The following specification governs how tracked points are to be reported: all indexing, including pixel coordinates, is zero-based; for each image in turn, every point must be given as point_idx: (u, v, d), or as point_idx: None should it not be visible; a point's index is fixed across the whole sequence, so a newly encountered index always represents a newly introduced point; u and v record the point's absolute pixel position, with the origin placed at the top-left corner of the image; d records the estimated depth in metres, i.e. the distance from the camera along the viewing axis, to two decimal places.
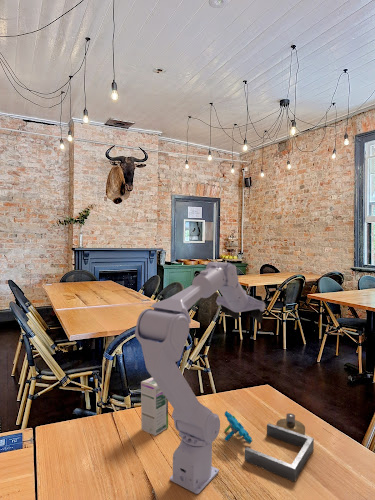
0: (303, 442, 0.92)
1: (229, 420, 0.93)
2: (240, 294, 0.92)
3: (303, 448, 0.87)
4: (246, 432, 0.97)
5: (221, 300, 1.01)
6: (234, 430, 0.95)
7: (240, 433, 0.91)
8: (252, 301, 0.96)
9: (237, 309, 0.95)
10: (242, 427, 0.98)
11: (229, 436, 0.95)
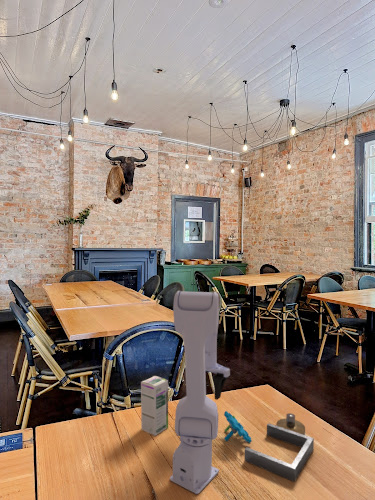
0: (303, 442, 0.92)
1: (228, 420, 0.93)
2: (216, 348, 1.01)
3: (303, 448, 0.87)
4: (246, 432, 0.97)
5: None
6: (234, 430, 0.95)
7: (239, 433, 0.91)
8: None
9: (204, 366, 0.99)
10: (242, 427, 0.98)
11: (229, 436, 0.95)
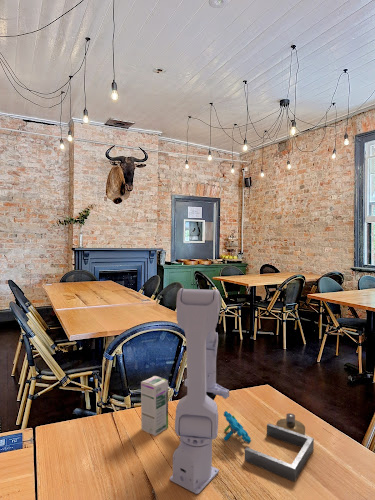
0: (303, 442, 0.92)
1: (228, 420, 0.93)
2: (215, 368, 1.01)
3: (303, 448, 0.87)
4: (245, 432, 0.97)
5: None
6: (233, 430, 0.95)
7: (238, 433, 0.91)
8: None
9: None
10: (241, 427, 0.98)
11: (228, 436, 0.95)
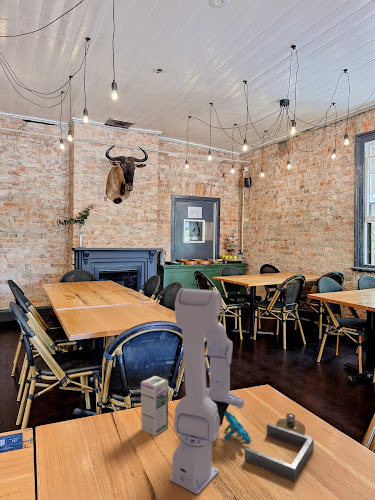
0: (303, 442, 0.92)
1: (228, 419, 0.93)
2: (228, 378, 0.98)
3: (303, 448, 0.87)
4: (246, 432, 0.97)
5: None
6: (233, 430, 0.95)
7: (238, 433, 0.91)
8: (232, 397, 0.98)
9: (217, 396, 0.97)
10: (242, 427, 0.98)
11: (228, 435, 0.95)
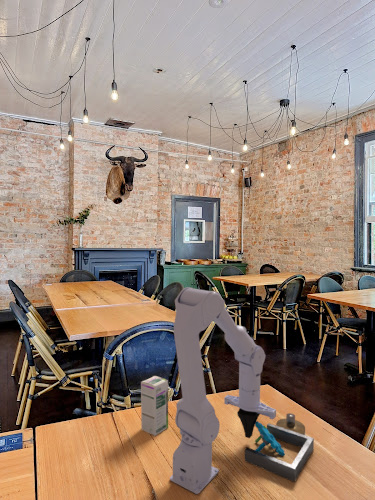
0: (303, 442, 0.92)
1: (260, 431, 0.88)
2: (256, 388, 0.91)
3: (303, 448, 0.87)
4: (278, 444, 0.91)
5: (230, 398, 0.97)
6: (265, 442, 0.89)
7: (272, 446, 0.85)
8: None
9: (247, 406, 0.91)
10: (274, 439, 0.92)
11: (260, 448, 0.89)
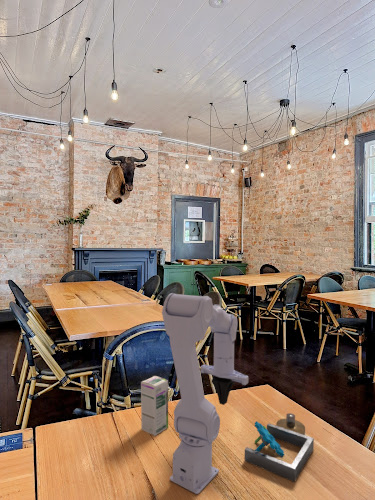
0: (303, 442, 0.92)
1: (260, 431, 0.88)
2: (232, 354, 0.95)
3: (303, 448, 0.87)
4: (278, 444, 0.91)
5: (206, 367, 1.01)
6: (265, 442, 0.89)
7: (271, 446, 0.85)
8: None
9: (221, 372, 0.95)
10: (273, 439, 0.92)
11: (259, 448, 0.89)
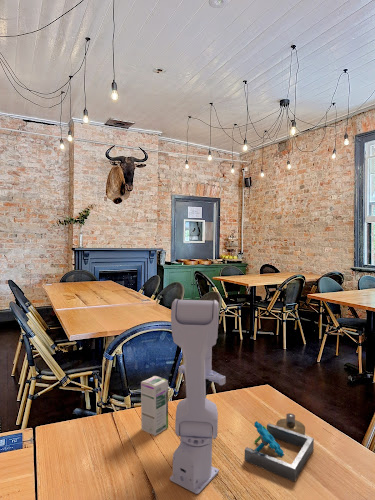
0: (303, 442, 0.92)
1: (259, 431, 0.88)
2: (211, 354, 0.96)
3: (303, 448, 0.87)
4: (277, 445, 0.91)
5: (184, 367, 1.00)
6: (264, 442, 0.89)
7: (271, 446, 0.85)
8: (214, 375, 0.95)
9: None
10: (273, 439, 0.92)
11: (259, 448, 0.90)
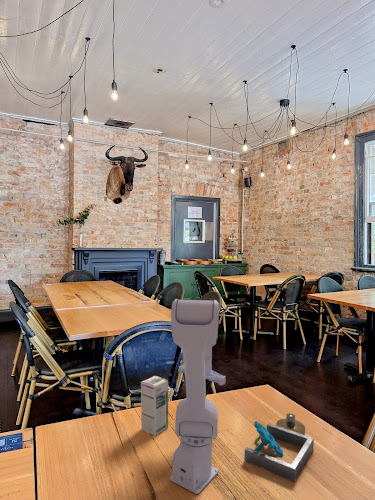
0: (303, 442, 0.92)
1: (259, 431, 0.88)
2: (211, 354, 0.96)
3: (303, 448, 0.87)
4: (277, 445, 0.91)
5: (184, 367, 1.00)
6: (264, 442, 0.89)
7: (270, 446, 0.85)
8: (214, 375, 0.95)
9: None
10: (273, 439, 0.92)
11: (259, 448, 0.90)
